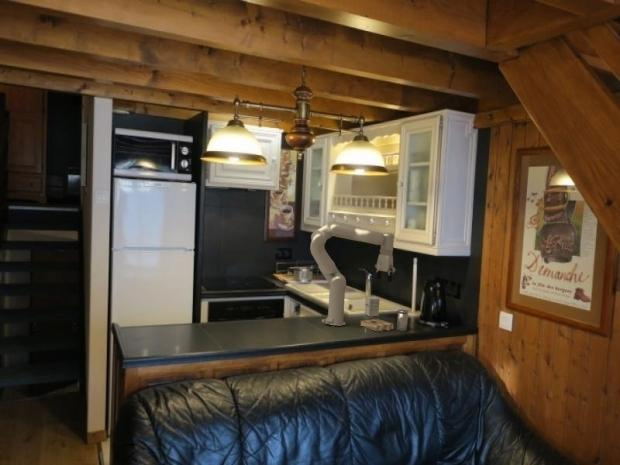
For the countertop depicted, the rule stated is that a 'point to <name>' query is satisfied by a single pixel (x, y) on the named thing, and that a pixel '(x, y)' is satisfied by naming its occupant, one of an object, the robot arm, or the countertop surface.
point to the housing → (377, 325)
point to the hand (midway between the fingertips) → (383, 280)
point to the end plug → (402, 320)
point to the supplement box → (372, 306)
